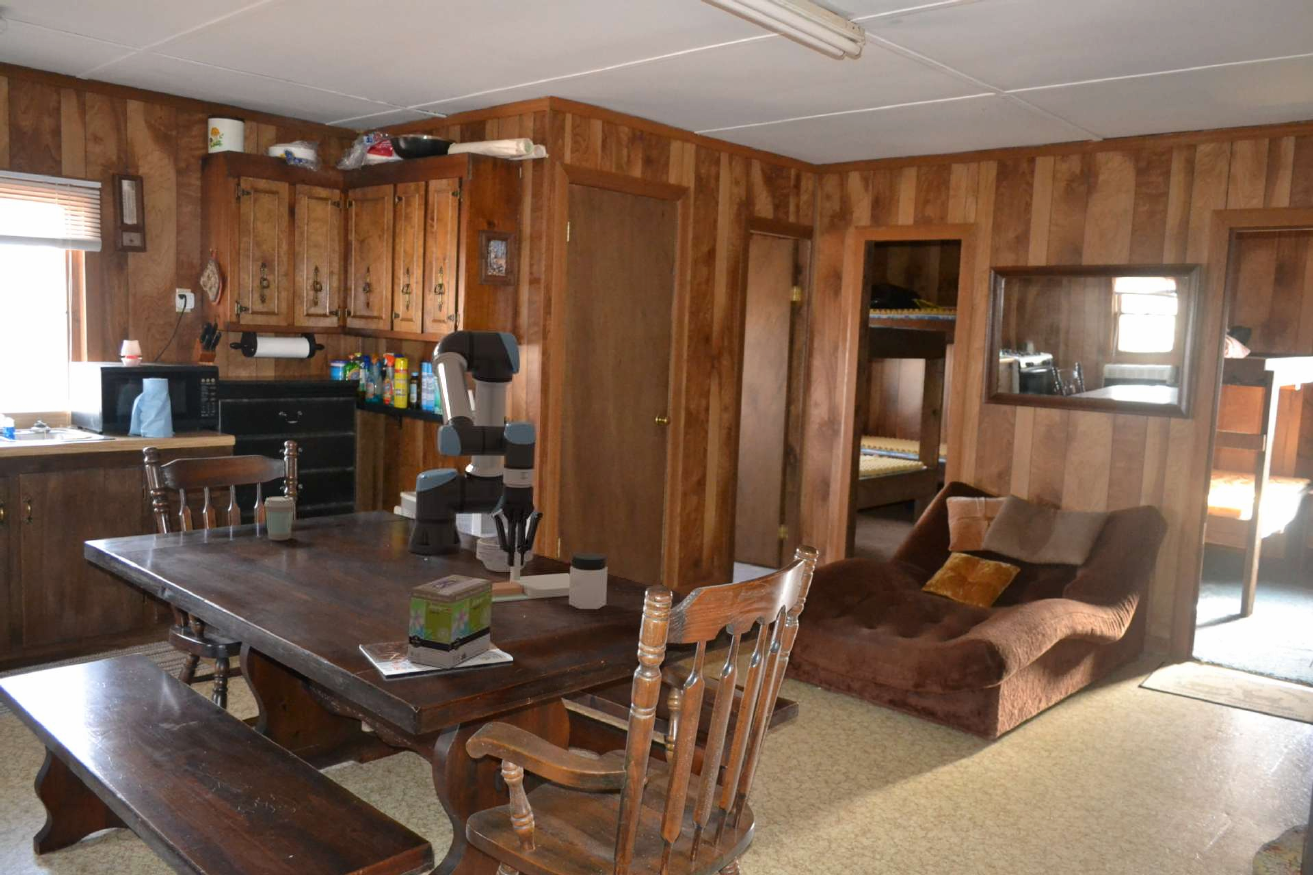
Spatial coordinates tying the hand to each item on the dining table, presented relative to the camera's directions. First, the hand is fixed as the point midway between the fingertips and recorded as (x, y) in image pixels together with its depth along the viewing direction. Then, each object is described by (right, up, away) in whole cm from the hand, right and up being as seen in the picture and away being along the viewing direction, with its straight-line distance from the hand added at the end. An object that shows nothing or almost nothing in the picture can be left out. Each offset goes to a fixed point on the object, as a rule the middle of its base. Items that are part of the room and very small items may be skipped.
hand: (515, 578), depth 256 cm
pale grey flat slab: (+8, -3, +5) cm, 10 cm away
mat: (-6, -3, -3) cm, 7 cm away
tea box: (-6, -9, -51) cm, 52 cm away
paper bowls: (-6, -1, +25) cm, 26 cm away
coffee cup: (-76, +5, +49) cm, 91 cm away
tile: (-3, -3, -1) cm, 5 cm away
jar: (+18, -5, -8) cm, 21 cm away
